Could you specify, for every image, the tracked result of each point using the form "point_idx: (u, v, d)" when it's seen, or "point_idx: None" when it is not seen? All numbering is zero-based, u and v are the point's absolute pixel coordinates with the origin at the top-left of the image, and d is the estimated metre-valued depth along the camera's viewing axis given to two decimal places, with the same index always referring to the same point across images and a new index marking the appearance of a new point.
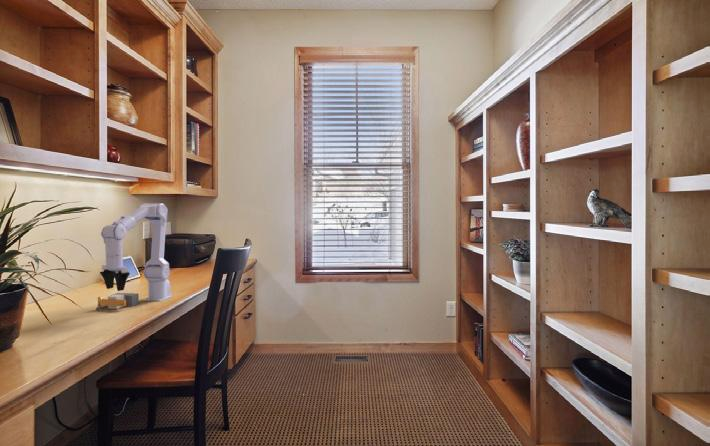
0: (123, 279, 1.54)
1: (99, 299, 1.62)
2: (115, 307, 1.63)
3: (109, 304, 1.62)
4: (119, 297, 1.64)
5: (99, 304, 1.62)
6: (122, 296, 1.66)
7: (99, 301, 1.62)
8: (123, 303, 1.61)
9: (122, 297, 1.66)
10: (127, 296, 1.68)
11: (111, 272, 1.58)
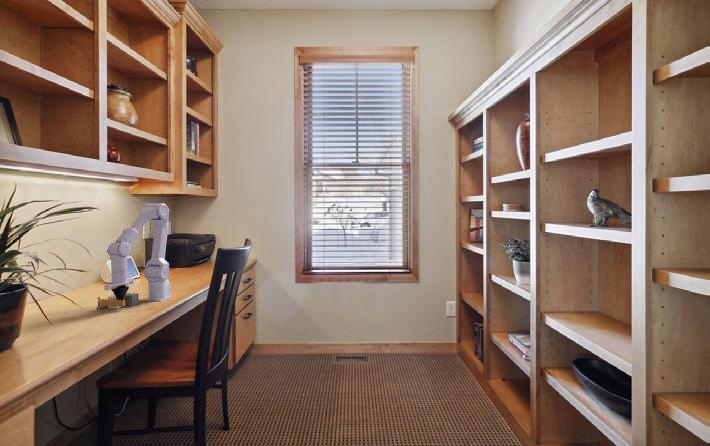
0: None
1: (99, 299, 1.62)
2: (115, 307, 1.63)
3: (109, 304, 1.61)
4: None
5: (99, 304, 1.62)
6: None
7: (99, 301, 1.62)
8: (122, 303, 1.60)
9: None
10: (127, 296, 1.68)
11: None
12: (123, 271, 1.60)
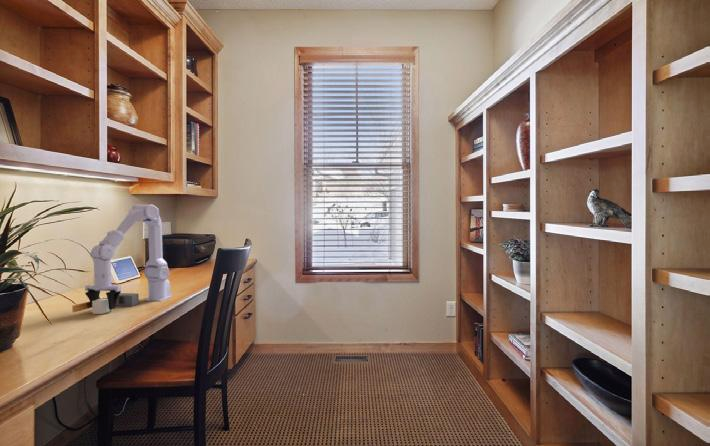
0: (114, 298, 1.58)
1: None
2: (100, 312, 1.55)
3: None
4: (104, 302, 1.56)
5: None
6: None
7: None
8: None
9: None
10: (127, 296, 1.68)
11: (96, 292, 1.59)
12: None
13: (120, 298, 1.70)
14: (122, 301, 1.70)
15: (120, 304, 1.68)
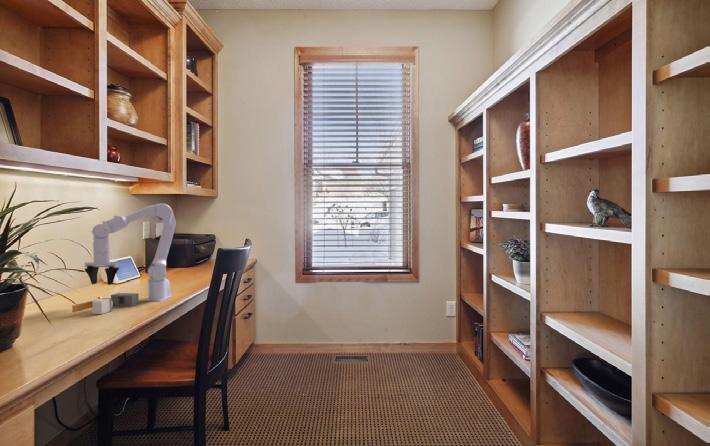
0: (112, 274, 1.68)
1: None
2: (100, 312, 1.55)
3: None
4: (104, 302, 1.56)
5: None
6: (108, 300, 1.58)
7: None
8: None
9: (108, 302, 1.58)
10: (127, 296, 1.68)
11: (95, 268, 1.69)
12: None
13: (120, 298, 1.70)
14: (122, 301, 1.70)
15: (120, 304, 1.68)
